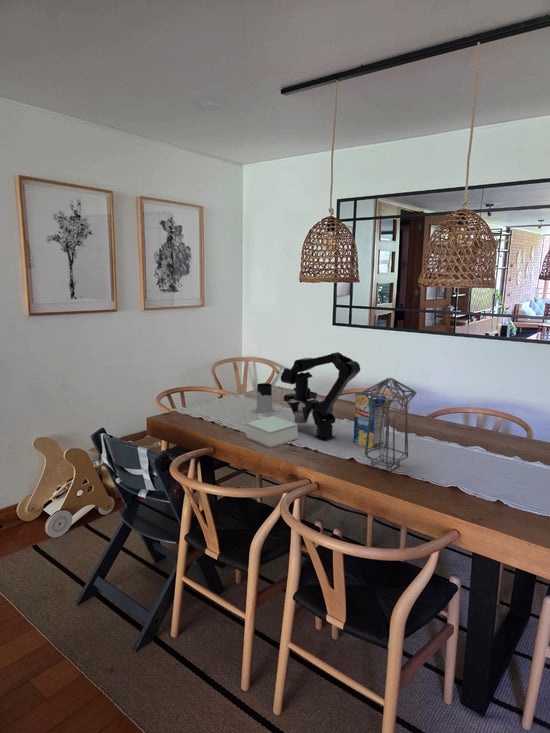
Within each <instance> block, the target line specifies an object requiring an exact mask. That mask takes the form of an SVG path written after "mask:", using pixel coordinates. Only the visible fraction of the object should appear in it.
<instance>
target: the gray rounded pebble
mask: <svg viewBox="0 0 550 733" xmlns="http://www.w3.org/2000/svg"><path fill="white" fill-rule="evenodd" d="M308 419H309V418H308ZM308 419H307V421H305V419H304V414H303V409H298V410H296V411H295V416H294V423H295V424H306V423H308V422H309V421H308Z"/></svg>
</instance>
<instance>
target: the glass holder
mask: <svg viewBox="0 0 550 733" xmlns="http://www.w3.org/2000/svg"><path fill="white" fill-rule="evenodd" d="M272 385H273V384H271V383H267V382H262V383H258V384H257V385H256V412H255V414H256V413H258V414H265V415H266V416H270V415H269V414H271V415H273V414H272V413H273V407H275V406H276V405H277V404H278V403H279V402H280V401H281V399H282V397H283V394H284V389H283V387H282V386H280V385H278V386H276V387H275V388H274V393H272V392H273V391H272V389H273V386H272ZM278 388H281V395H280V397H279V399H278V400H277V401H276V402H275V403H274V404H273V396H274V395H276V389H278Z"/></svg>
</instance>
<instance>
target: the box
mask: <svg viewBox="0 0 550 733" xmlns="http://www.w3.org/2000/svg"><path fill="white" fill-rule="evenodd" d="M245 425H246V424H245ZM245 428H246V429H245V430H246V435H245V436H246V439H249V440H250V441H252V442H255V443H258V444H260V445H261V446H264V447H267V448H268V449H271V448H274V447H276V446H277V447H278V446H280V445H283V444H287V443H290V442H293V441H292V440H294V441H296V440H295V439H297V440H298V430H299V429H298V428H299V426H296V427H293V428H289V429H286V430H282V431H279V432H275V433H272V434H268V433H266V432H263V431H261V430H258V429H256V428H253V427H251V426H248V425H246V427H245ZM289 441H290V442H289ZM286 442H287V443H286Z"/></svg>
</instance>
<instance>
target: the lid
mask: <svg viewBox="0 0 550 733" xmlns="http://www.w3.org/2000/svg"><path fill="white" fill-rule="evenodd" d="M245 425H248V426H251V427H253V428H256V429H258V430H261V431H263V432H266V433H268V434H272V433H275V432H279V431H282V430H286V429H289V428H293V427H296V426H298V425H299V423H296V422H291V421H289V420H287V419H283V418H282V417H281V418H280V417H278V416H275V415H273V416H269V417H265V418H260V419H257V420H253V421H248V422H246V423H245ZM298 427H299V426H298Z"/></svg>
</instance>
